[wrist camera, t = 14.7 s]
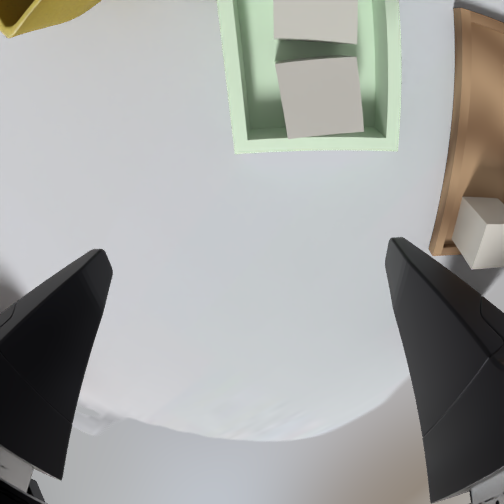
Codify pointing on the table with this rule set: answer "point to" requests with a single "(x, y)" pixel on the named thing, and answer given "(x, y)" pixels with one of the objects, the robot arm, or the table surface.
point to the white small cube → (320, 95)
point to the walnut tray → (473, 123)
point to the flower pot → (38, 14)
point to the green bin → (269, 50)
